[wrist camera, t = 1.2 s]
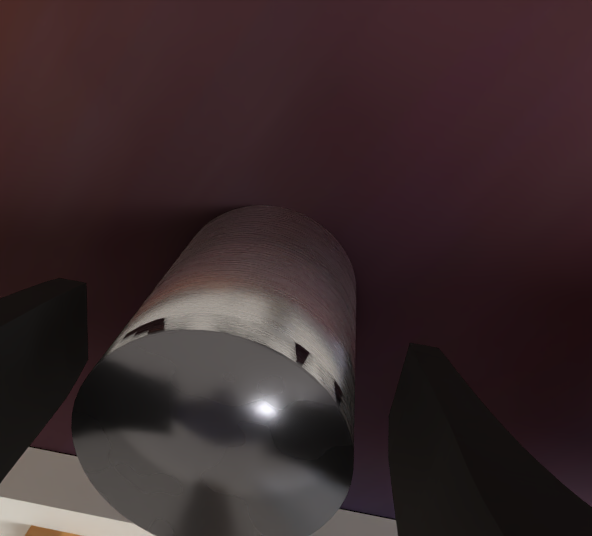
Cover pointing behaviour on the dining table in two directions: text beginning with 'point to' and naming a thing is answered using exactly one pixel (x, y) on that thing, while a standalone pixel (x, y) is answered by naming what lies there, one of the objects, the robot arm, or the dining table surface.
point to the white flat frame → (104, 504)
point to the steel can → (231, 386)
